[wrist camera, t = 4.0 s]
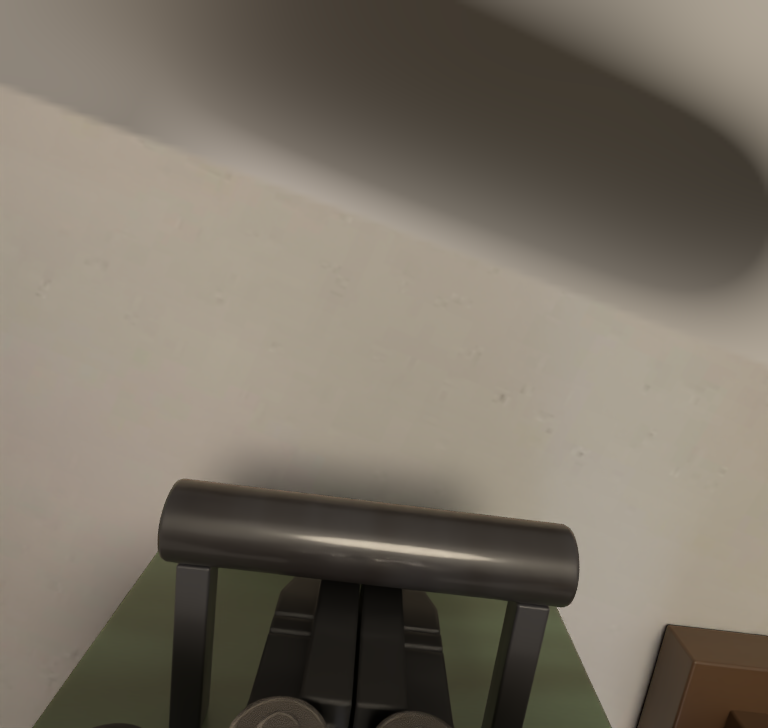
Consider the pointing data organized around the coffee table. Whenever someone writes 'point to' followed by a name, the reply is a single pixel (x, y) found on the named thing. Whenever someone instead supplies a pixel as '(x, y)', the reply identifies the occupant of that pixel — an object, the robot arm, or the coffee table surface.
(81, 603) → the coffee table surface
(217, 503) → the drawer
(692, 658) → the stand
